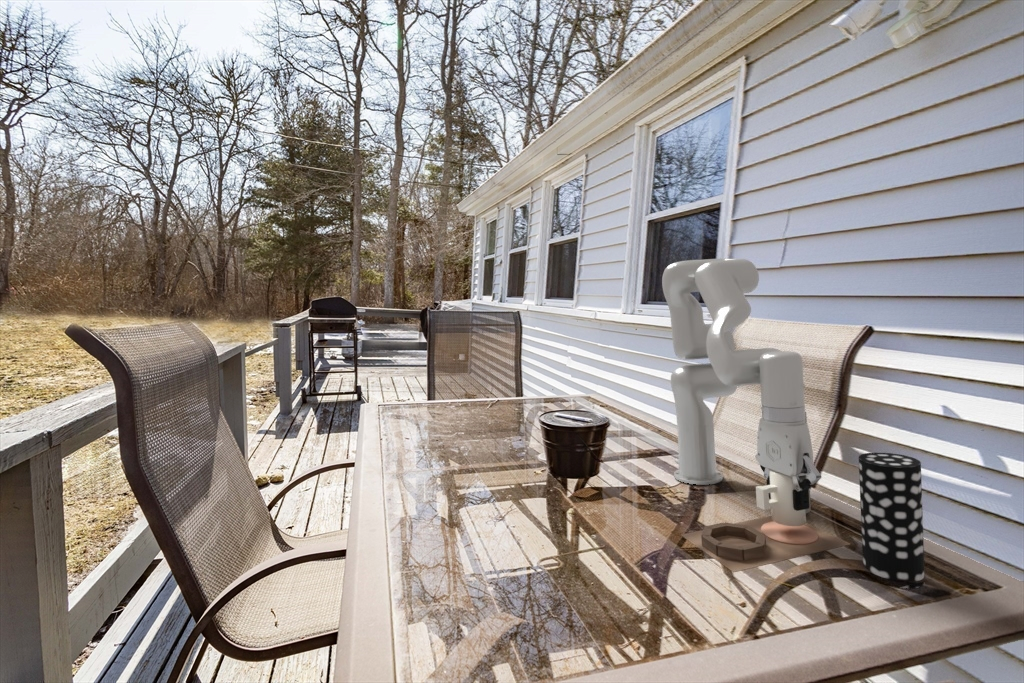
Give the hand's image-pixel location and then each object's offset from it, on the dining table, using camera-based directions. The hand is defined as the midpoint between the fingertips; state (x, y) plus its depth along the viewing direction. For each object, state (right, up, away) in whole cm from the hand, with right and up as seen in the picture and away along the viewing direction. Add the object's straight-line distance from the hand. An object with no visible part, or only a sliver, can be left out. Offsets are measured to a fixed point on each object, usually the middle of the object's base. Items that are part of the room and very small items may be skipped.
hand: (787, 502), depth 99 cm
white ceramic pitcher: (-1, -4, 0) cm, 4 cm away
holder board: (-6, -8, -1) cm, 10 cm away
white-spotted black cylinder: (+10, -8, -15) cm, 19 cm away
